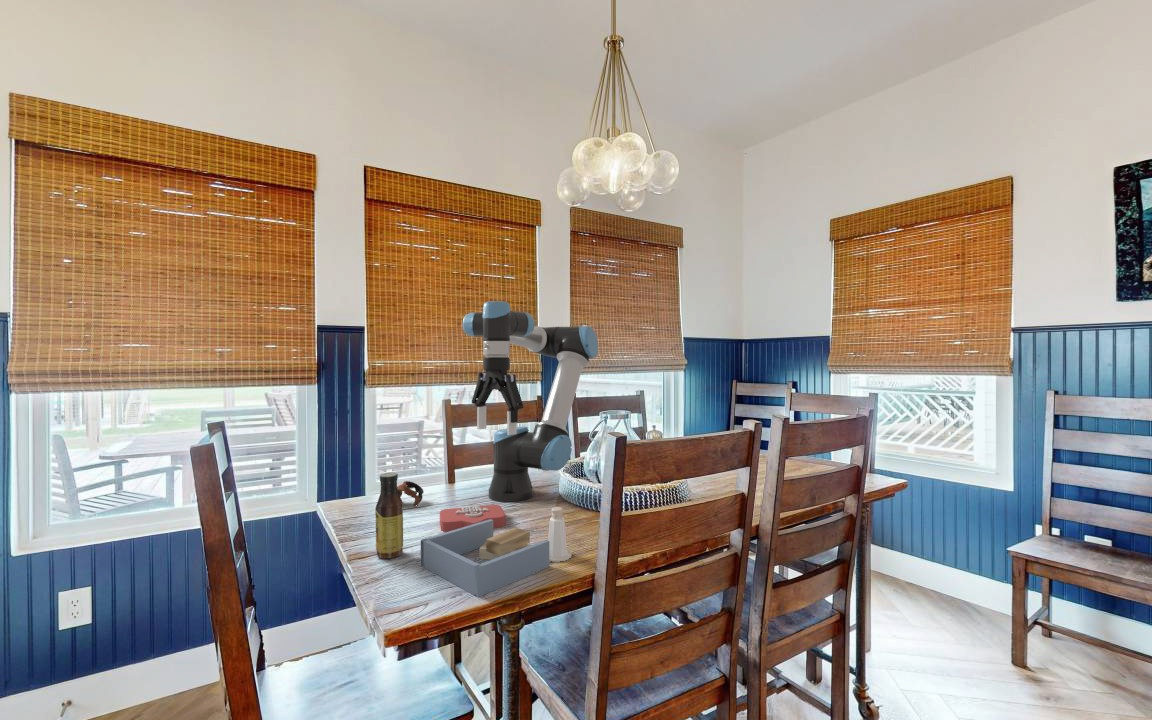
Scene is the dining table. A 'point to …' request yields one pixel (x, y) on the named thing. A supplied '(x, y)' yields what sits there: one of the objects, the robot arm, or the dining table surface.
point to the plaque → (471, 517)
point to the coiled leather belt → (411, 491)
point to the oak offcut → (507, 541)
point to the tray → (477, 578)
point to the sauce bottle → (389, 518)
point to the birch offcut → (487, 555)
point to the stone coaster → (561, 558)
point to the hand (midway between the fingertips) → (496, 431)
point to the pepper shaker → (557, 534)
